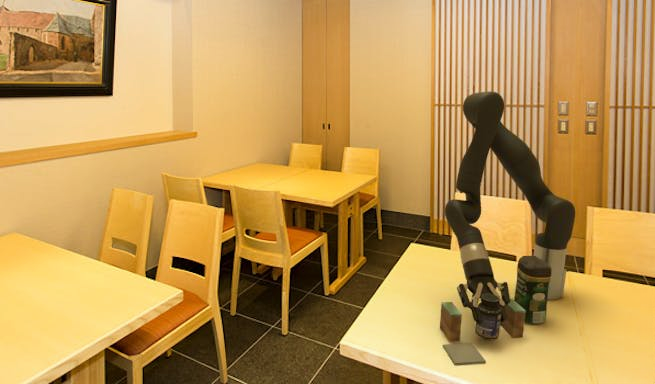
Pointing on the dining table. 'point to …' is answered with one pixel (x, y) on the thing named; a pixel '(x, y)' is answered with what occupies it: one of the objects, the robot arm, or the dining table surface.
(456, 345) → the slate pad
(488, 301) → the pill bottle
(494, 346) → the dining table surface
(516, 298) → the coffee jar
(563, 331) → the dining table surface
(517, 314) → the walnut channel
